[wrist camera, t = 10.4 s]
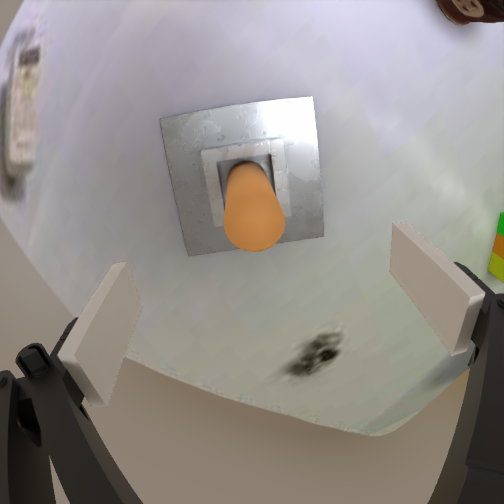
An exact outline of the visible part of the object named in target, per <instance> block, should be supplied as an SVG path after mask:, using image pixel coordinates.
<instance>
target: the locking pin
mask: <svg viewBox="0 0 504 504" xmlns="http://www.w3.org/2000/svg"><path fill="white" fill-rule="evenodd" d="M284 228H285V217H284V213H283V211H282V208H281V206H280V204H279V202H278V200H277V197H276V195H275V193H274V191H273V189H272V187H271V184H270V182H269V180H268V178H267V176H266V174H265V171H264V169H263V168H262V167H261V165H259V164H258V163H257V162H255V161H252V160H242V161H239V162H237V163H236V164H234V165H233V166H232V168H231V169H230V171H229V174H228V183H227V193H226V203H225V213H224V230H225V233H226V235H227V237H228V239H229V240H230V241H231V242H232V243H233V244H234V245H235V246H236V247H238V248H240V249H242V250H246V251H252V252H256V251H262V250H265V249H268V248H270V247H271V246H273V245H274V244H275V243H276V242H277V241H278V240H279V239H280V237H281V236H282V234H283V231H284Z"/></svg>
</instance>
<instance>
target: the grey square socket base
mask: <svg viewBox="0 0 504 504" xmlns="http://www.w3.org/2000/svg"><path fill="white" fill-rule="evenodd" d="M160 124H161V129H162V135H163V140H164V146H165V151H166V156H167V161H168V166H169V171H170V176H171V181H172V186H173V190H174V195H175V200H176V204H177V209H178V213H179V218H180V222H181V227H182V231H183V235H184V239H185V244H186V248H187V252H188V256H194V255H201V254H208V253H215V252H221V251H228V250H235V249H240V248H238V247H236V246H235V245H234V244H233V243H232V242H231V241H230V240H229V239H228V237H227V235H226V233H225V230H224V213H225V203H226V193H227V183H228V174H229V171H230V169H231V168H232V166H233V165H234V164H236V163H237V162H239V161H242V160H252V161H255V162H257V163H258V164H259V165H261V167H262V168H263V169H264V171H265V174H266V176H267V178H268V180H269V182H270V184H271V187H272V189H273V191H274V193H275V195H276V197H277V200H278V202H279V204H280V206H281V208H282V211H283V213H284V217H285V228H284V231H283V234H282V236H281V237H280V239H279V240H278V241H277V242H276V243H283V242H290V241H297V240H304V239H311V238H318V237H324V222H323V205H322V190H321V177H320V165H319V154H318V143H317V133H316V124H315V115H314V106H313V98H312V97H303V98H291V99H280V100H270V101H262V102H253V103H246V104H239V105H232V106H225V107H219V108H213V109H207V110H202V111H196V112H191V113H186V114H181V115H176V116H172V117H167V118H163V119H160ZM276 243H275V244H276Z"/></svg>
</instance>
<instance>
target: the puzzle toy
mask: <svg viewBox="0 0 504 504" xmlns="http://www.w3.org/2000/svg"><path fill="white" fill-rule="evenodd" d="M488 270H489V271H490V272H491V273H492V274H494V275H495V276H496V277H497V278H498V279H499V280H501V281H502V282H503V283H504V213H501V214H500V219H499V224H498V229H497V234H496V238H495V243H494V247H493V251H492V255H491V259H490V263H489V266H488Z"/></svg>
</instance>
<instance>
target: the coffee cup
mask: <svg viewBox="0 0 504 504" xmlns="http://www.w3.org/2000/svg"><path fill="white" fill-rule="evenodd" d="M437 2H438V4H439V6H440V8H441V9H442V11H443V12H444V13H445V15H446V16H447V17H448V18H449V19H450V20H451V21H453V22H454V23H455V24H460V25H464V24H467V23H469V22H484V23H496V22H504V0H437Z"/></svg>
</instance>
